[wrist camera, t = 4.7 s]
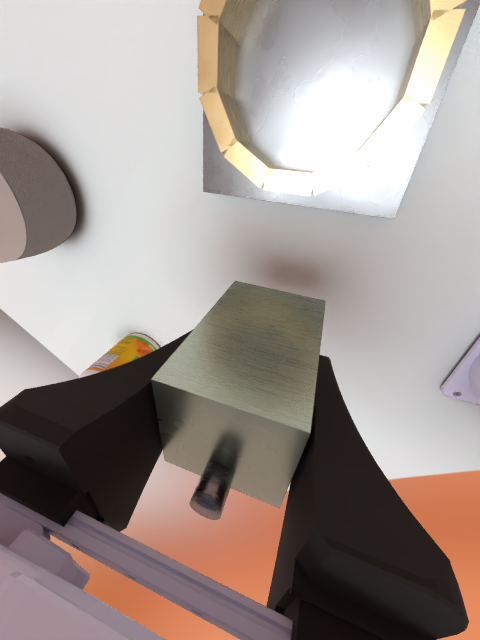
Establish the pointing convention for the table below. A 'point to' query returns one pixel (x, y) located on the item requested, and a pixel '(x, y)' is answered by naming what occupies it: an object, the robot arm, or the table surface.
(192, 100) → the table surface
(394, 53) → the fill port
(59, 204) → the smart speaker
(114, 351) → the supplement bottle
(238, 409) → the spout can
